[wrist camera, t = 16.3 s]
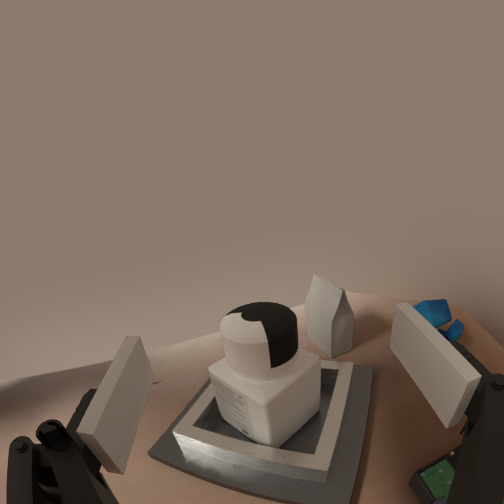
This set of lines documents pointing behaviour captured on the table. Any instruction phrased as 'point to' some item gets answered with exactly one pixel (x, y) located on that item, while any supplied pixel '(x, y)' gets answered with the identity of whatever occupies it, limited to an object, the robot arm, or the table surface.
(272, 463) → the collar plate
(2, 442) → the table surface
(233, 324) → the container
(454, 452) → the disk drive
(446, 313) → the blue lump
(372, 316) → the table surface
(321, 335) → the tea bag
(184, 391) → the table surface
